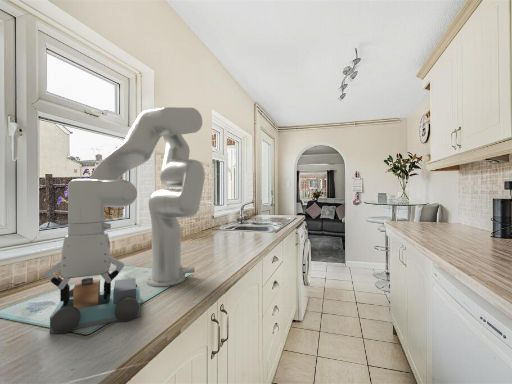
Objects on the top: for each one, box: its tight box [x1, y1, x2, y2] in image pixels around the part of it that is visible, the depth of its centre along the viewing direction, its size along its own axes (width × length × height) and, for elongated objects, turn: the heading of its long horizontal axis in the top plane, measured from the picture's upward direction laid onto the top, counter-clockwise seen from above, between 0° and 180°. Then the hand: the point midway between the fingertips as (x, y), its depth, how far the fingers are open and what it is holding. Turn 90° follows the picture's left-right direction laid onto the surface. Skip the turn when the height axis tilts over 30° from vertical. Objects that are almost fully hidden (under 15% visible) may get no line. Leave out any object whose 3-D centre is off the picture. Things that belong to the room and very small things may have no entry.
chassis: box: [49, 277, 142, 335], centre depth 66 cm, size 18×15×6 cm
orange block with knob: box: [72, 277, 101, 309], centre depth 65 cm, size 5×5×8 cm
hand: (86, 300), depth 65 cm, fingers open, 7 cm apart
